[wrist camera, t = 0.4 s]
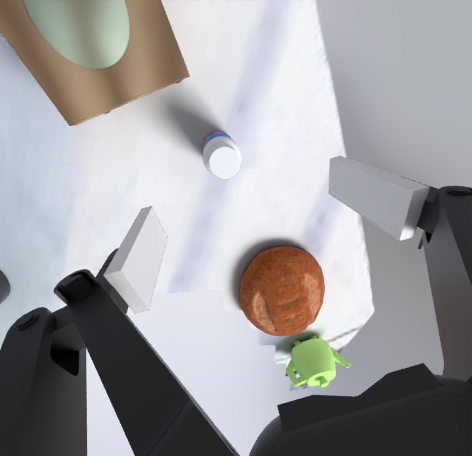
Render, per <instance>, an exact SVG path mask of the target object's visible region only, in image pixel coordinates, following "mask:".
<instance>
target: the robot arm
mask: <svg viewBox="0 0 472 456" xmlns="http://www.w3.org/2000/svg"><path fill="white" fill-rule="evenodd" d="M329 194H330V195H331V196H333V197H334V198H336V199H337V200H339V201H340V202H342V203H343V204H345V205H346V206H348V207H349V208H351V209H352V210H354V211H355V212H357V213H359V214H360V215H362V216H363V217H365V218H366V219H368V220H369V221H371V222H372V223H374V224H375V225H377V226H378V227H380V228H381V229H383V230H384V231H386V232H387V233H389V234H390V235H392V236H393V237H395V238H396V239H398V240H399V241H400V240H404V239H408V238H411V237H414V234H415V232H416V228H417V227H419V228H421V229H423V230H424V232H423V235H422V238H421V241H420V243H419V247H418V249H421V247H422V246H424V251H425V257H426V263H427V268H428V274H429V280H430V285H431V291H432V296H433V302H434V308H435V313H436V319H437V324H438V330H439V336H440V341H441V347H442V352H443V358H444V370H443V375H435V374H433V373H431V371H430V370H429V369H428V368H427V367H426V366H425V364H423V363H422V364H419V365H415V366H412V367H409V368H405V369H401V370H398V371H394V372H391V373H388V374H386V375H385V376H384V377H383V378H381V379H380V380H379V381H378V382H376V383H375V384H374V385H372V386H371V387H370V388H368V389H367V390H366V391H365V392H363V393H362V394H361V395H359V396H355V397H351V396H349V397H348V396H328V395H327V396H326V395H311V396H308V397H305V398H301V399H297V400H294V401H290V402H287V403H283V404H280V405H277V406H278V410H279V414H280V415H279V416H278V417H276V418H275V419H274V420H273V421H271V422H270V424H268V425H267V426H266V427H265V429H264V430H263V431H262V433H261V434H260V435H259V437H258V439H257V440H256V442H255V444H254V446H253V448H252V450H251V452H250V455H249V456H472V188H469V187H464V186H446V187H442V188H440V189H437V188H434V187H431V186H427V185H424V184H422V183H419V182H416V181H413V180H409V179H407V178H404V177H401V176H397V175H394V174H391V173H388V172H386V171H383V170H380V169H376V168H374V167H371V166H368V165H365V164H362V163H359V162H356V161H353V160H350V159H347V158H345V157H342V156H338V157H334V158H331V159H330V171H329ZM166 241H167V235H166V233H165V231H164V229H163V227H162V225H161V223H160V221H159V219H158V217H157V215H156V213H155V211H154V209H153V207H152V206H150V207H147V208H143V209H141V211H140V213H139V214H138V216H137V218H136V219H135V221H134V223H133V225H132V226H131V228H130V230H129V232H128V233H127V235H126V237H125V239H124V240H123V242H122V244H121V246H120V247H119V248H118V249H115V250H114V251H113V252H112V253H111V254H110V255H109V256H108V258H107V260H106V261H105V263H104V265H103V266H102V268H101V269H100V271H99V273H98V274H97V276H96V278H95V277H94V276H93V274H92V273H91V272H90V271H89V270H87V269H84V270H79V271H76V272H74V273H72V274H70V275H68V276H67V277H65V278H64V279H62V280H61V281H60V282H59V283H58V284H57V285H56V287H55V288H54V293H55V294H56V295H57V296H58V297H59V298H60V299H61V300H62V301H63V302H64V303H65V304H67V306H65V307H63V308H61V309H59V310H57V311H55V312H53V313H52V312H50V311H49V310H48V309H47V308H44V307H41V308H37V309H34V310H32V311H30V312H29V313H27V314H24V315H23V316H21V318H19V319H18V320H17V321H16V322H15V323H14V324H13V325H12V326H11V327H10V329H9V330H8V332H7V334H6V337H5V339H4V342H3V344H2V347H1V349H0V456H87V398H86V397H87V396H86V394H87V392H86V348H87V350H88V352H89V354H90V357H91V359H92V361H93V363H94V365H95V368H96V370H97V372H98V374H99V376H100V379H101V381H102V383H103V385H104V388H105V390H106V392H107V394H108V397H109V399H110V401H111V403H112V406H113V408H114V410H115V412H116V415H117V417H118V419H119V421H120V424H121V426H122V428H123V430H124V432H125V435H126V437H127V439H128V441H129V444H130V446H131V448H132V450H133V453H134V455H135V456H240V455H239V454H238V452H237V451H236V450H235V449H234V448H233V446H232V445H231V444H230V443H229V441H228V440H227V439H226V438H225V437H224V435H223V434H222V433H221V432H220V431H219V429H218V428H217V427H216V426H215V425H214V423H213V422H212V421H211V419H210V418H209V417H208V416H207V414H206V413H205V412H204V411H203V409H202V408H201V407H200V406H199V405H198V403H197V402H196V401H195V399H194V398H193V397H192V396H191V394H190V393H189V392H188V391H187V390H186V388H185V387H184V386H183V385H182V383H181V382H180V381H179V379H178V378H177V377H176V376H175V374H174V373H173V372H172V371H171V369H170V368H169V367H168V366H167V365H166V363H165V362H164V361H163V360H162V358H161V357H160V356H159V354H158V353H157V352H156V351H155V349H154V348H153V347H152V346H151V344H150V343H149V342H148V341H147V339H146V338H145V337H144V336H143V334H142V333H141V332H140V331H139V330H138V328H137V327H136V326H135V325H134V323H133V322H132V321H131V320H130V318H129V317H128V316H127V315H126V313H127V309H128V307H129V308H130V309H131V310H132V312H133V313H134V314H136V313H140V312H143V311H147V310H149V309H150V306H151V301H152V297H153V293H154V289H155V285H156V281H157V277H158V273H159V269H160V265H161V261H162V257H163V253H164V249H165V245H166ZM9 293H10V284H9V282H8V280H7V278H6V277H5V275H4V274H3V273H2V272H1V271H0V304H1V303H2V302H3V301H4V300H5V299H6V298H7V297H8V295H9Z"/></svg>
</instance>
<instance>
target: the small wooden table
mask: <svg viewBox="0 0 472 456" xmlns="http://www.w3.org/2000/svg"><path fill="white" fill-rule="evenodd" d="M0 31H1V33H2V34H3V36H4V37H5V38H6V40H7V41H8V42H9V44H10V45H11V46H12V48H13V49H14V51H15V52H16V53H17V55H18V56H19V57H20V59H21V60H22V61H23V63H24V64H25V66H26V67H27V68H28V70H29V71H30V72H31V74H32V75H33V76H34V78H35V79H36V81H37V82H38V83H39V85H40V86H41V87H42V89H43V90H44V91H45V93H46V94H47V96H48V97H49V98H50V100H51V101H52V102H53V104H54V105H55V106H56V108H57V109H58V111H59V112H60V113H61V115H62V116H63V117H64V119H65V120H66V121H67V123H68V124H69V126H73V125H78V124H80V123H83V122H85V121H87V120H90V119H92V118H94V117H97V116H99V115H101V114H106V113H109V112H110V111H111V110H113V109H115V108H118V107H120V106H122V105H125V104H127V103H129V102H131V101H134V100H136V99H138V98H141V97H143V96H145V95H148V94H150V93H152V92H155V91H157V90H159V89H162V88H164V87H166V86H169V85H171V84H173V83H179V82H181V80H183V79H185V78H187V77H190V76H189V73H188V70H187V67H186V65H185V62H184V59H183V57H182V54H181V52H180V49H179V46H178V44H177V41H176V39H175V36H174V33H173V31H172V28H171V25H170V23H169V20H168V18H167V15H166V12H165V10H164V7H163V5H162V2H161V0H0Z"/></svg>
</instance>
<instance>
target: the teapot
mask: <svg viewBox="0 0 472 456" xmlns="http://www.w3.org/2000/svg"><path fill="white" fill-rule="evenodd" d="M294 345H295V346H294V347H293V349H292V353H291V361H290V363H289V365H288V366H287V368H286V373H287V374H288V376H289V378H290V379H291V381H292V383H293V384H294V386H295V387H297V386H299V385H301V384H303V383H305V382H306V383H307V384H308V385H309V386H315V385H320V386H321V387H325V386H327V385H328V384H329V382H328V381H330V380H332V379H333V378H334V377H335V374H336V373H335V372H336V370H335V362H334V361H336V362H338V363H339V364H341V365H343V366H344V367H346V368H349V367H351V364H350V363H349V362H348V361H347V360H346V359H345V358H343V357H342V356H341V355H340V354H339V353H338V352H336V351H335V350H334V349H333V348H332V347H330V346H329V344H328V343H327V342H326V341H325V340H323V339H321V338H317V335H312V336H311V337H310V339H309V340H306V341H303V342H301V341H300V340H296V341H294ZM294 369H296V371H297V373H298V374H299V375H300V378H299V379H297V378H296V376H295V375H294V373H293V371H294Z"/></svg>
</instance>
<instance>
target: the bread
mask: <svg viewBox="0 0 472 456" xmlns="http://www.w3.org/2000/svg"><path fill="white" fill-rule="evenodd" d="M324 291H325V286H324V277H323V273H322V269H321V267H320V266H319V264H318V262H317V261H316V259H315V258H314V257H313V256H312V255H311V254H310V253H308V252H306V251H304V250H301V249H299V248H294V247H288V246H284V247H273V248H270V249H268V250H265V251H262V252H261V253H259V254H258V255H257V256H256V257H255V258H254V259H253V260H252V261H251V263H250V265H249V266H248V268H247V269H246V271H245V273H244V274H243V277H242V280H241V284H240V304H241V307H242V310H243V312H244V314H245V315H246V317H247V318H248V320H249V321H250V322H251V323H252V324H253V325H254V326H256V327H257V328H258V329H260V330H262V331H263V332H265V333H267V334H270V335H274V336H287V335H294V334H297V333H300V332H302V331H303V330H305V329H306V328H307V327H308V326H309V325H310V324H312V323H313V322H314V321H315V319H316V317H317V315H318V313H319V310H320V308H321V306H322V303H323V297H324Z"/></svg>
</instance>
